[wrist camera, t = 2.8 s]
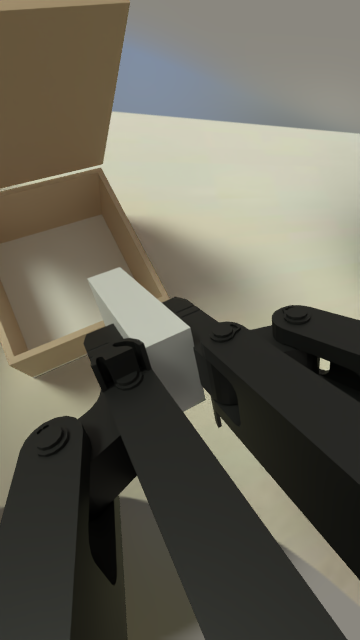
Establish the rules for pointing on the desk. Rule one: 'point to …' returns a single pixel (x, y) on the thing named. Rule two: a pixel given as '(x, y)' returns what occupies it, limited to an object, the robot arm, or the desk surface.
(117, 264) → the box
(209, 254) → the desk surface
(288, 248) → the desk surface
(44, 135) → the mailer lid
